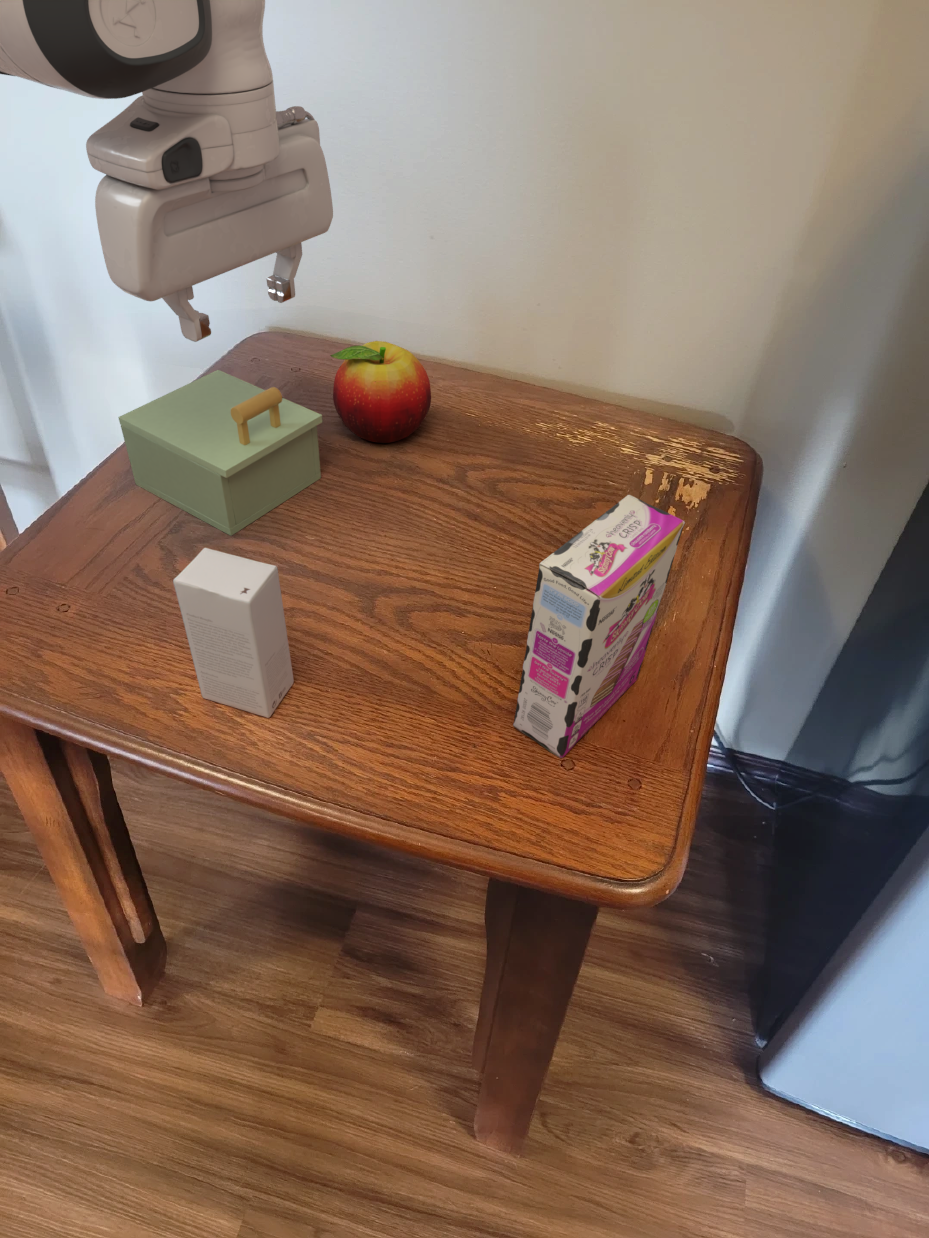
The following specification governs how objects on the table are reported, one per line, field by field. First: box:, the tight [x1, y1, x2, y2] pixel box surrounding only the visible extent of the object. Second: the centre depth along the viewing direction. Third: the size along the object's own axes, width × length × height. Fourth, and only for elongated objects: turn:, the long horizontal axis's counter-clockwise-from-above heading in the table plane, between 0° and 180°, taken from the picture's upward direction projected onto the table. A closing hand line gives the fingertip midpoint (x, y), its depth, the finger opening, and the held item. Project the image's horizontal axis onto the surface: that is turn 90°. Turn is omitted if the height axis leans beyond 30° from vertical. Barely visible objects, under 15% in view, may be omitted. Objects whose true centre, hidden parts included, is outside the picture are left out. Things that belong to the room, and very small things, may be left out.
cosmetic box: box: [172, 547, 295, 719], centre depth 62 cm, size 6×4×12 cm
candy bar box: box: [512, 494, 686, 759], centre depth 61 cm, size 11×5×16 cm, turn 140°
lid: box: [118, 369, 323, 478], centre depth 80 cm, size 14×13×5 cm
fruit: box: [329, 340, 432, 444], centre depth 92 cm, size 11×11×10 cm
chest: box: [120, 425, 322, 537], centre depth 85 cm, size 14×13×7 cm
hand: (241, 317), depth 69 cm, fingers open, 8 cm apart
